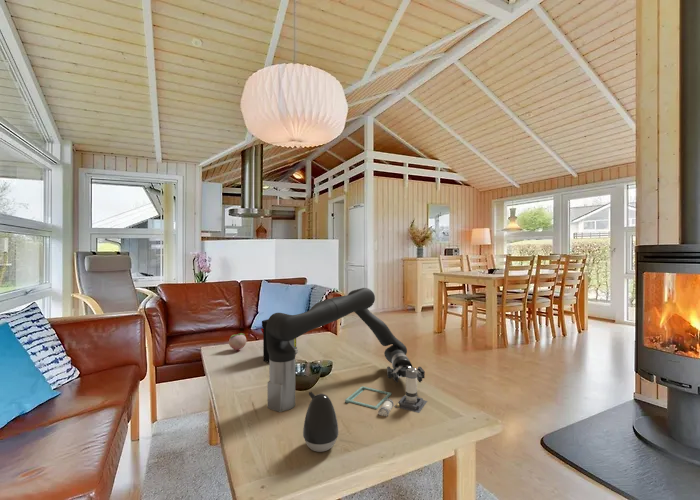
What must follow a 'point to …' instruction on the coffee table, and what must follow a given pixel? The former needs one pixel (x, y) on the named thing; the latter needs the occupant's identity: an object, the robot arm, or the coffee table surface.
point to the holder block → (411, 407)
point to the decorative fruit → (237, 341)
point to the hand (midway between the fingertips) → (408, 379)
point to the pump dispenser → (320, 423)
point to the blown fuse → (411, 386)
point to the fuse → (386, 408)
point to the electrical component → (265, 351)
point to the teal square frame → (356, 393)
